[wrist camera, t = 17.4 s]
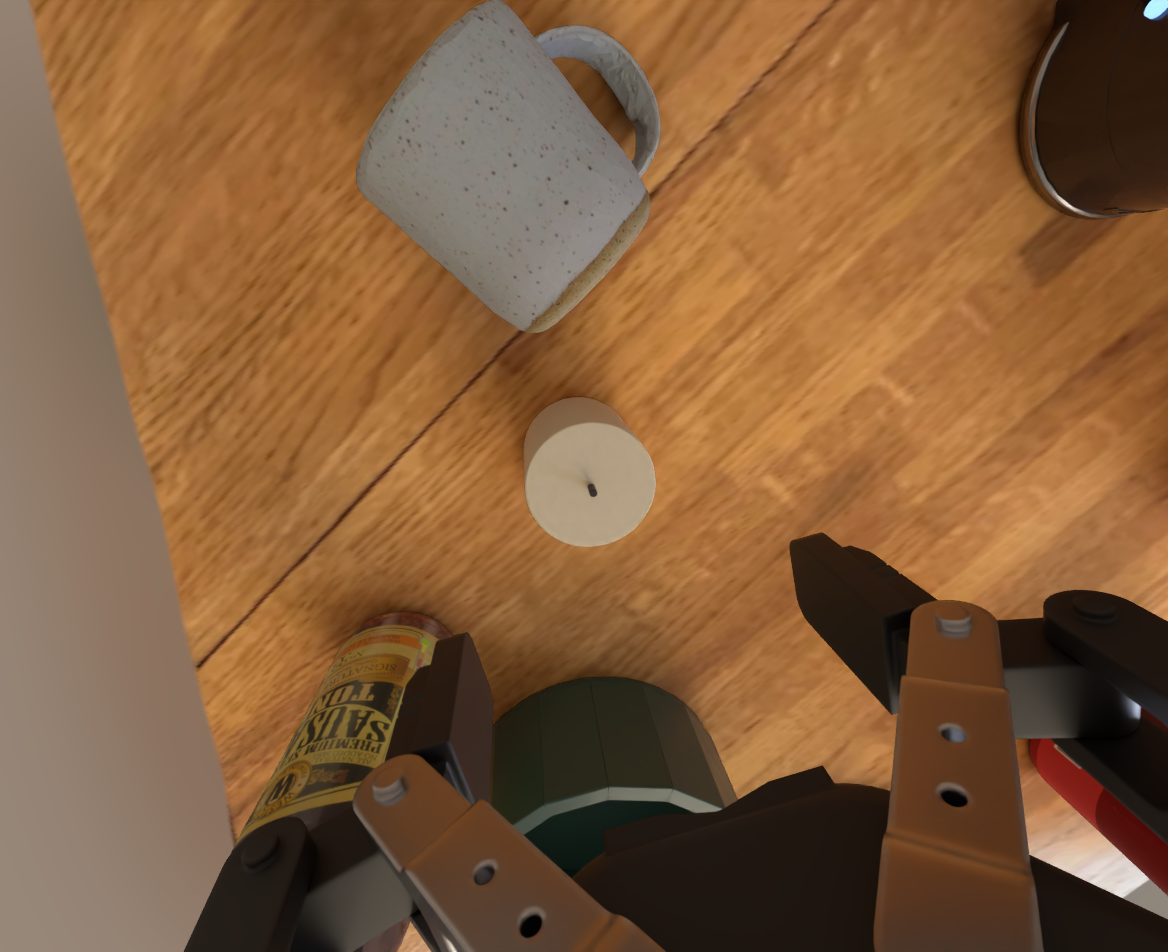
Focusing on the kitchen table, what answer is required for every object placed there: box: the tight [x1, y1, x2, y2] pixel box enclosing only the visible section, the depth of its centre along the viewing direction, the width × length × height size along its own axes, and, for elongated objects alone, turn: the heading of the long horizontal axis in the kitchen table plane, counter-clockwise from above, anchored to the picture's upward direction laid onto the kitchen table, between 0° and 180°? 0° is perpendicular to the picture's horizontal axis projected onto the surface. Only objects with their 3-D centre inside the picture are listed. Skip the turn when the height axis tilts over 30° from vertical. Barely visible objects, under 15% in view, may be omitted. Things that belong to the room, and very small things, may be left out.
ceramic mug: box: [356, 0, 660, 333], centre depth 20 cm, size 11×8×8 cm
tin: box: [488, 677, 738, 879], centre depth 30 cm, size 15×15×8 cm
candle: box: [524, 397, 656, 547], centre depth 25 cm, size 5×5×6 cm
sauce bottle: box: [232, 612, 453, 952], centre depth 21 cm, size 7×6×20 cm
